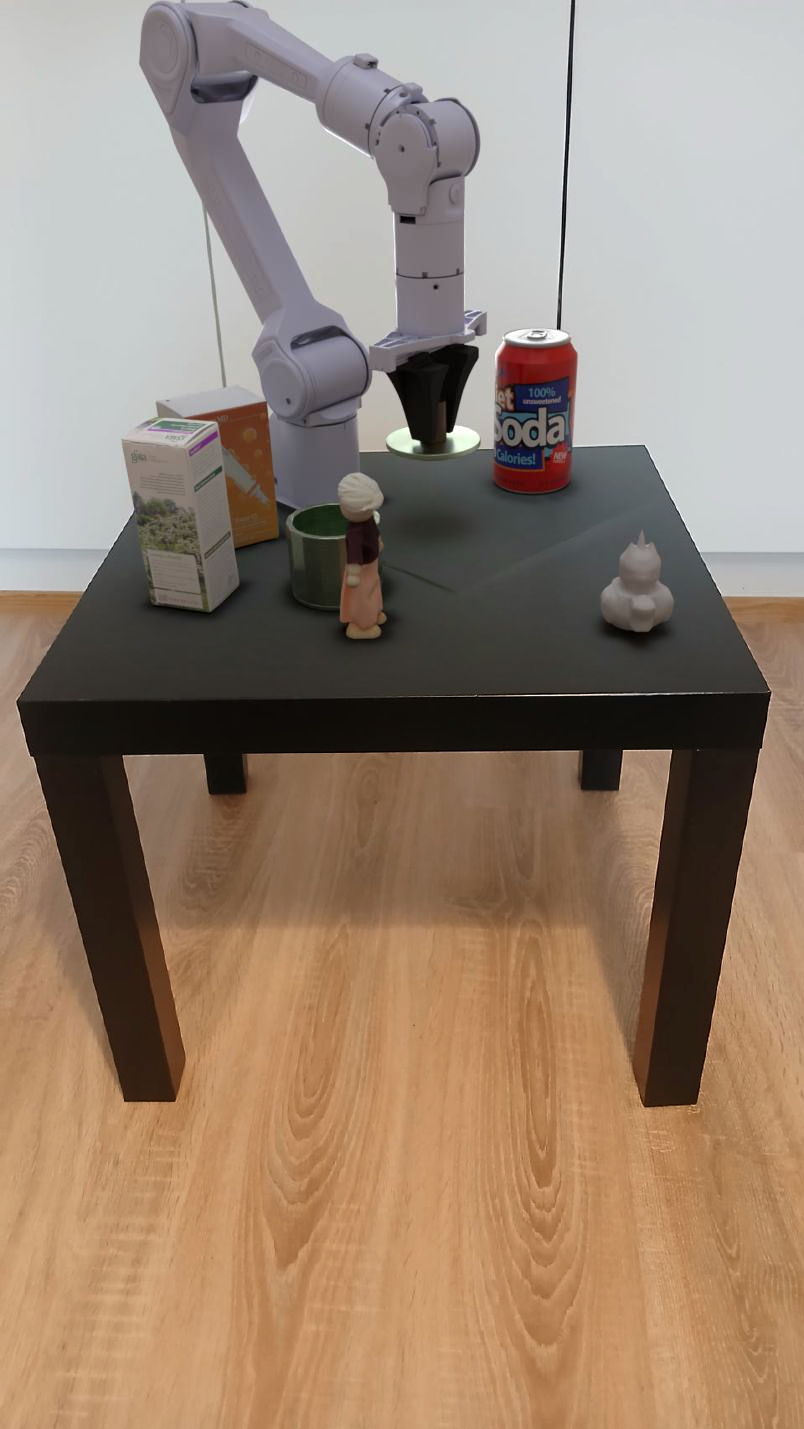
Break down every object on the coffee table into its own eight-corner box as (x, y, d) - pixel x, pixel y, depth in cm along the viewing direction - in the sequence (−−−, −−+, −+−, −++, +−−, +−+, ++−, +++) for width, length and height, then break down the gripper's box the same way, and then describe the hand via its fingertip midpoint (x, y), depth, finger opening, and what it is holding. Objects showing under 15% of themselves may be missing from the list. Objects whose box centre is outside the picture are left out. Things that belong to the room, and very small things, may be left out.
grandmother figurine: (344, 606, 87) (334, 457, 80) (391, 606, 87) (385, 456, 80) (336, 653, 80) (325, 495, 73) (386, 653, 80) (380, 494, 73)
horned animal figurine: (661, 609, 85) (672, 515, 80) (677, 650, 79) (690, 552, 75) (593, 610, 85) (601, 517, 81) (605, 651, 79) (613, 553, 75)
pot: (274, 590, 90) (267, 520, 86) (342, 563, 94) (338, 494, 90) (332, 620, 85) (326, 546, 81) (401, 589, 89) (398, 518, 86)
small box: (202, 559, 95) (182, 416, 88) (174, 537, 100) (153, 399, 93) (282, 537, 99) (268, 398, 92) (251, 516, 103) (236, 382, 96)
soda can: (573, 474, 110) (582, 325, 102) (566, 503, 104) (575, 346, 96) (499, 471, 112) (502, 324, 104) (487, 498, 106) (489, 344, 97)
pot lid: (368, 448, 95) (366, 397, 93) (444, 429, 99) (443, 380, 97) (421, 474, 89) (420, 420, 87) (499, 453, 93) (500, 401, 91)
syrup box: (242, 584, 91) (221, 417, 83) (209, 616, 86) (184, 442, 78) (183, 577, 92) (157, 412, 84) (148, 607, 88) (117, 436, 80)
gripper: (418, 293, 79) (421, 468, 87) (518, 260, 89) (513, 420, 96) (344, 284, 83) (354, 452, 90) (448, 253, 92) (449, 408, 100)
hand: (432, 435), depth 93 cm, fingers closed on pot lid, 2 cm apart
